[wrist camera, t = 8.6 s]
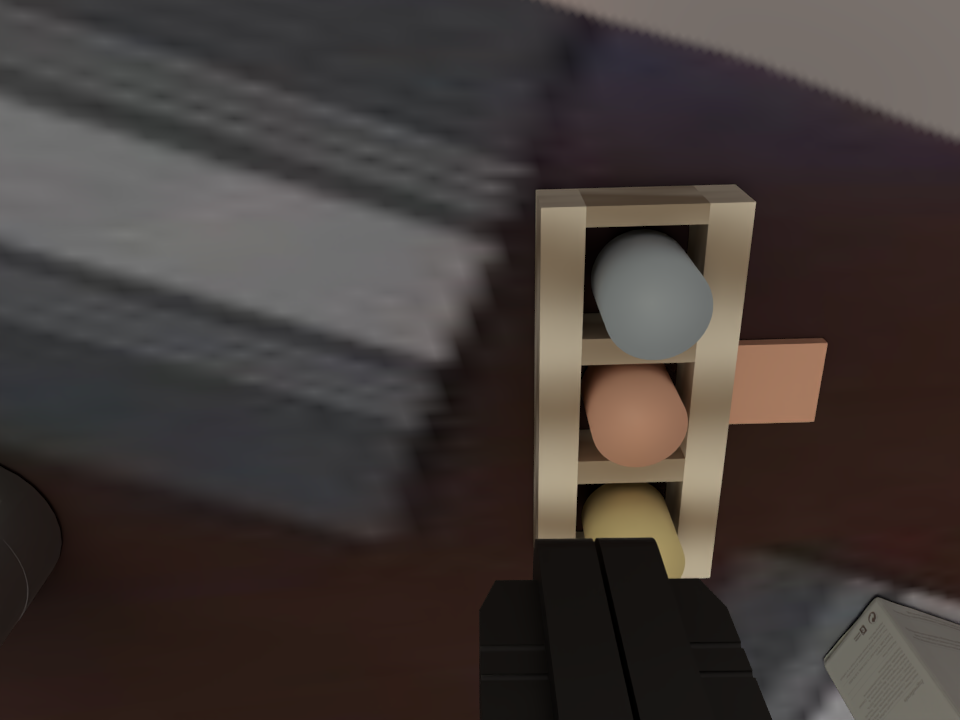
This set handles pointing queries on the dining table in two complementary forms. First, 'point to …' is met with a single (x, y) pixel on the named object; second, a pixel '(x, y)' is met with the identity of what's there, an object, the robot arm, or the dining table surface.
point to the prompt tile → (777, 380)
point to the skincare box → (898, 665)
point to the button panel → (585, 341)
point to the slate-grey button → (650, 295)
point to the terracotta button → (633, 412)
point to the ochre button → (634, 519)
